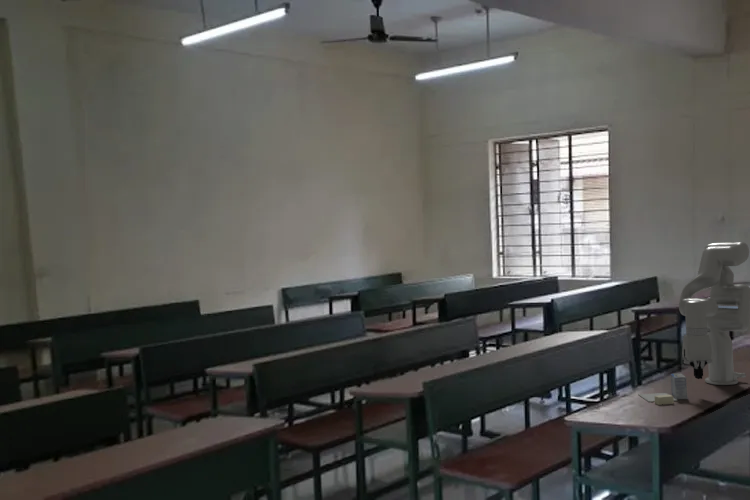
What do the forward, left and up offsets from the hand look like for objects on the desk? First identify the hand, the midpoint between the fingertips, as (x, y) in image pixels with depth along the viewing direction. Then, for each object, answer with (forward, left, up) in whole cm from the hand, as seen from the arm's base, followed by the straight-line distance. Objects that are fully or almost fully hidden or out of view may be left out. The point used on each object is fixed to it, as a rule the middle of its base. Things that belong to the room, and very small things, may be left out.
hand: (698, 378), depth 279 cm
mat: (+16, 0, -7) cm, 18 cm away
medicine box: (+8, 0, -7) cm, 11 cm away
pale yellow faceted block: (+17, +8, -7) cm, 20 cm away
